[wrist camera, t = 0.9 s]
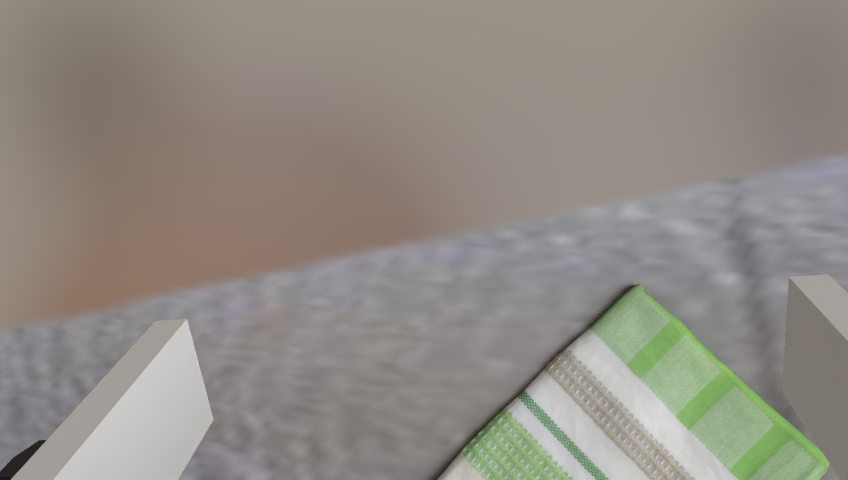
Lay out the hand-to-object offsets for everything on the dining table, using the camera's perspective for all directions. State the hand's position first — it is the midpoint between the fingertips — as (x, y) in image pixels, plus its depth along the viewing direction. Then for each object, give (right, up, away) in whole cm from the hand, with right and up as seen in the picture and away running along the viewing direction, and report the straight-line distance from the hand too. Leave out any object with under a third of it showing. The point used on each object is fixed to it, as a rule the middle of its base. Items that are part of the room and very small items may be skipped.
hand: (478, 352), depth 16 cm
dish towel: (+11, -14, +32) cm, 37 cm away
